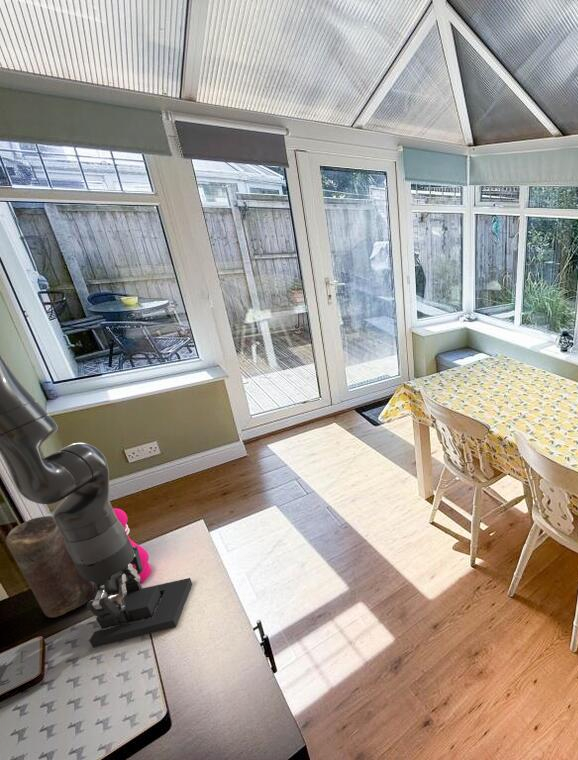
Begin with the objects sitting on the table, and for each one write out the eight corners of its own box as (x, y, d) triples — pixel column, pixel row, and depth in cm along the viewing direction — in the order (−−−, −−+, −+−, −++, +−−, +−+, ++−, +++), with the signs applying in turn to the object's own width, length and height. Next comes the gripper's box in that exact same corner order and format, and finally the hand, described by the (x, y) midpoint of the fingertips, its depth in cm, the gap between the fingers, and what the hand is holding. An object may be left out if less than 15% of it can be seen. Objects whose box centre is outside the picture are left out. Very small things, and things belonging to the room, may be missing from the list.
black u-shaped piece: (92, 648, 77) (88, 641, 76) (118, 600, 86) (115, 594, 85) (176, 627, 81) (173, 620, 80) (192, 584, 90) (190, 577, 89)
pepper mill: (152, 559, 95) (122, 490, 87) (156, 578, 91) (125, 507, 83) (110, 577, 91) (74, 506, 83) (113, 598, 86) (75, 525, 78)
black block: (101, 629, 79) (95, 618, 78) (113, 607, 83) (108, 596, 82) (152, 617, 81) (147, 606, 80) (161, 596, 86) (157, 585, 84)
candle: (97, 581, 90) (60, 509, 82) (98, 604, 85) (58, 530, 77) (46, 602, 85) (1, 527, 77) (44, 627, 80) (-4, 551, 72)
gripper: (94, 523, 80) (124, 585, 87) (49, 583, 68) (88, 650, 75) (141, 515, 82) (167, 575, 89) (106, 571, 70) (139, 637, 77)
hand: (131, 609), depth 82 cm, fingers closed on black block, 5 cm apart
